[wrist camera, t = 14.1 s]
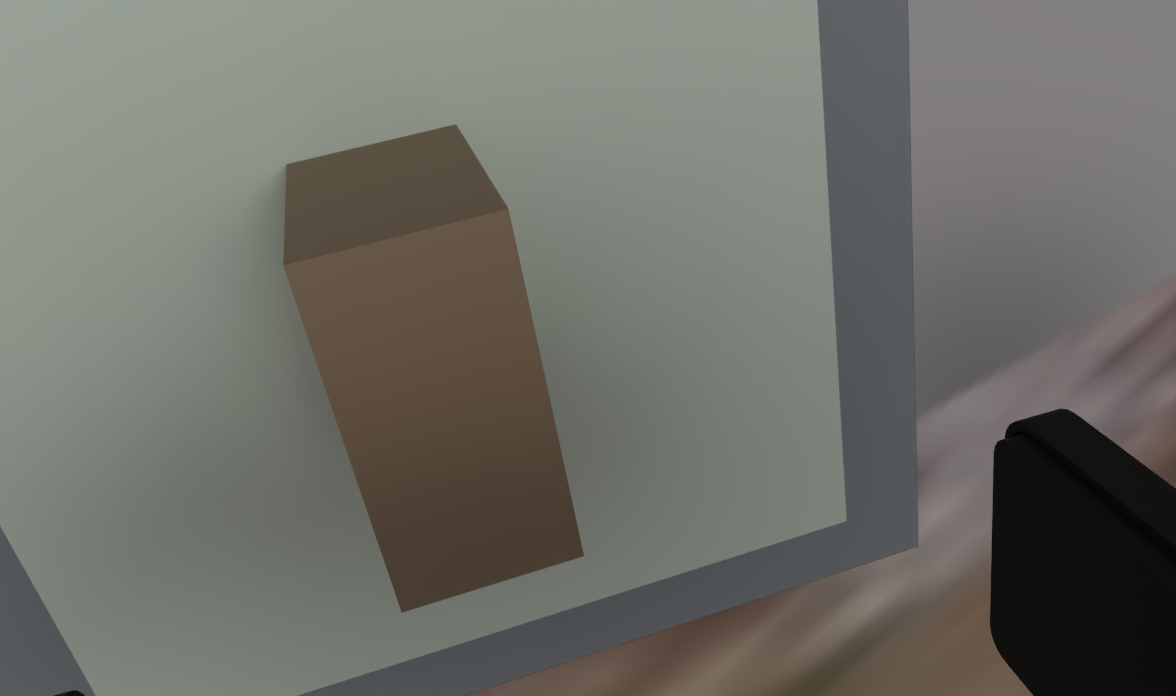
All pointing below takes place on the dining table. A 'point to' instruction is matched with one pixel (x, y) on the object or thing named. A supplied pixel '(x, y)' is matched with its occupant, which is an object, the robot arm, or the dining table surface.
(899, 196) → the mat
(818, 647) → the dining table surface
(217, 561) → the lid
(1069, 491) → the robot arm
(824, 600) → the dining table surface
